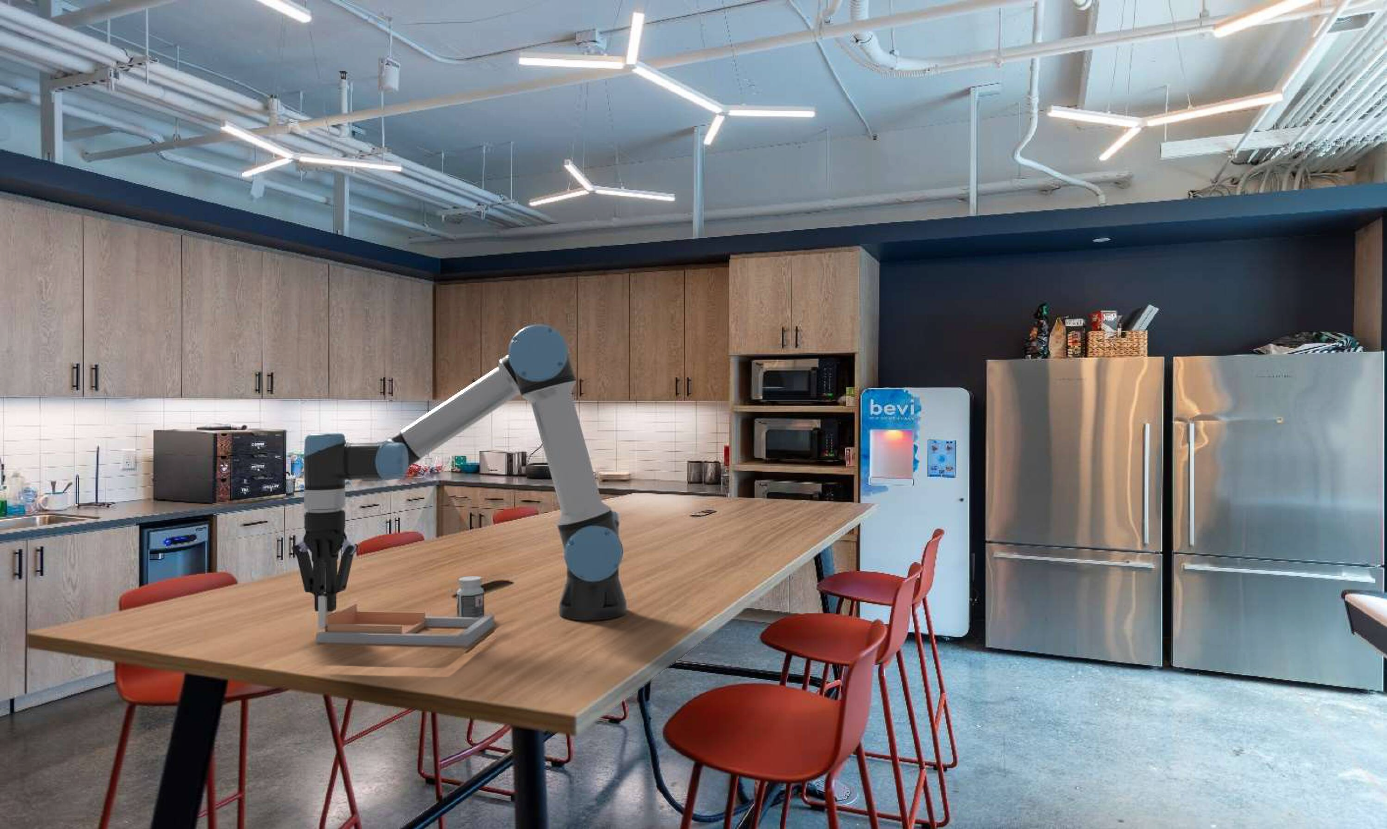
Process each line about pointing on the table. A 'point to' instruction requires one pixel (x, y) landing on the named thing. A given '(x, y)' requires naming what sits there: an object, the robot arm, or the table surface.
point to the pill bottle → (470, 597)
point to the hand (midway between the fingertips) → (325, 627)
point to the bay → (463, 639)
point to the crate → (374, 621)
